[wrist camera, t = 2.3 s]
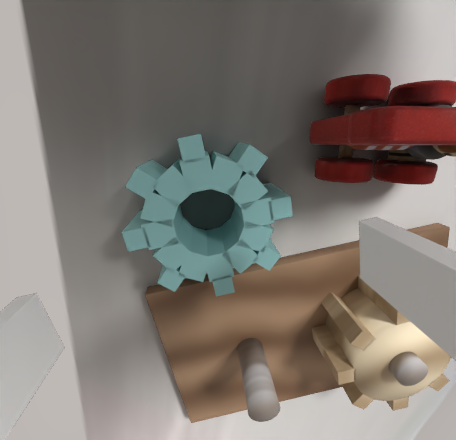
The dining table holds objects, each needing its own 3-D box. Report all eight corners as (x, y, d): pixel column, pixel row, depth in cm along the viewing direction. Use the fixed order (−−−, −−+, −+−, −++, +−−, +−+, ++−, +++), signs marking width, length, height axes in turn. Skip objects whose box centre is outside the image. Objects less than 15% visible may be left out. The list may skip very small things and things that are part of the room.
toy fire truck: (423, 177, 22) (596, 210, 13) (288, 175, 21) (364, 209, 11) (447, 91, 20) (679, 49, 10) (298, 82, 19) (404, 25, 9)
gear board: (147, 287, 23) (125, 350, 16) (437, 222, 24) (531, 257, 17) (191, 411, 29) (188, 497, 22) (424, 355, 30) (491, 421, 23)
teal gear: (120, 150, 19) (93, 155, 14) (262, 121, 19) (282, 117, 15) (160, 274, 23) (149, 311, 18) (279, 248, 23) (299, 277, 18)
